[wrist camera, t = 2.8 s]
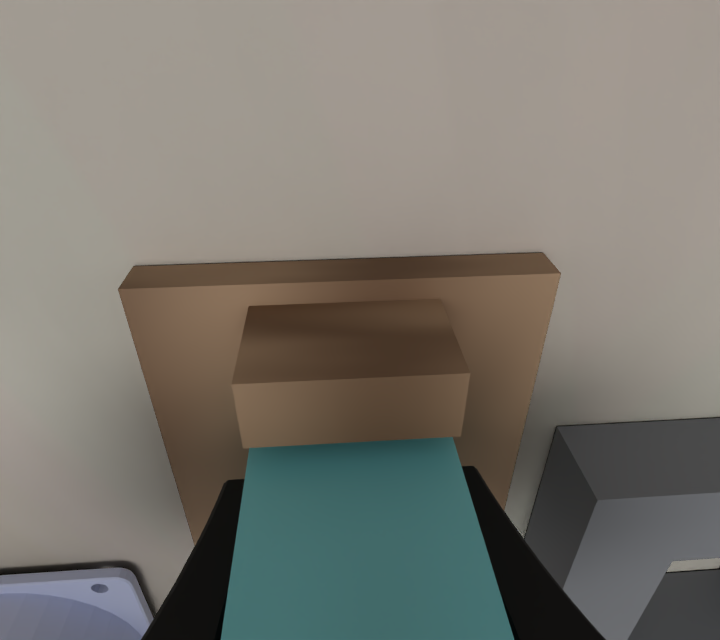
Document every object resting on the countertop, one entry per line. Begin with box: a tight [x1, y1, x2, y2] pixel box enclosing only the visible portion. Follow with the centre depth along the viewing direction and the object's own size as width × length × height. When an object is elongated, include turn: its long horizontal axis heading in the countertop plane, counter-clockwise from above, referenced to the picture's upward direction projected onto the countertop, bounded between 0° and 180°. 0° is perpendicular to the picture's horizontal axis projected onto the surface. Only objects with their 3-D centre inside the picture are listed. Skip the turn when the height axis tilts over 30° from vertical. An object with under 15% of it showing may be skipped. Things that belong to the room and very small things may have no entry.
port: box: [524, 418, 720, 640], centre depth 17 cm, size 11×11×3 cm
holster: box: [118, 253, 561, 545], centre depth 12 cm, size 9×9×4 cm
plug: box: [221, 437, 514, 640], centre depth 10 cm, size 4×4×7 cm
